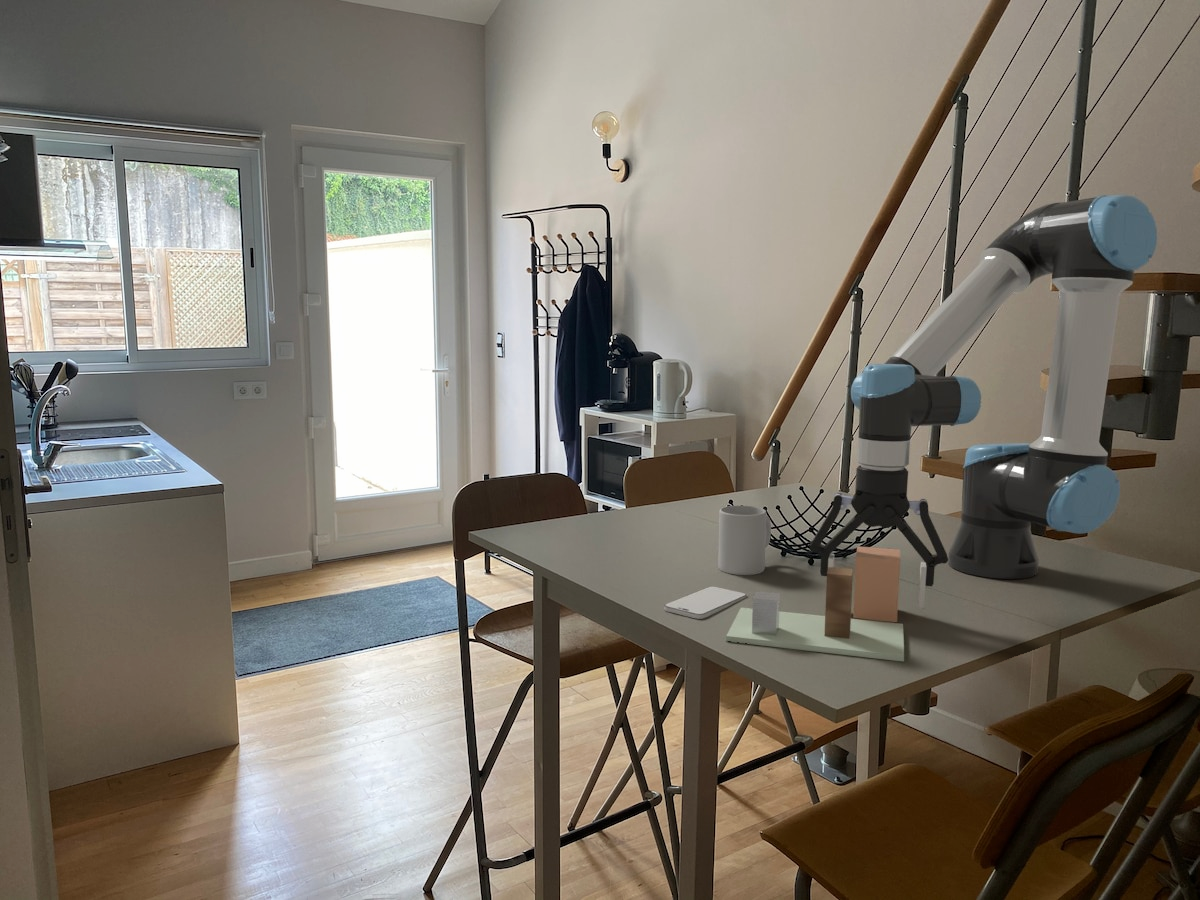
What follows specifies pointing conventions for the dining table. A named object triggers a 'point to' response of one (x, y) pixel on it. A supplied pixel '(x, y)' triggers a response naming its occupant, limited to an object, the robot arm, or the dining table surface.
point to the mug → (743, 539)
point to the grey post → (765, 613)
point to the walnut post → (838, 602)
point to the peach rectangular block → (876, 584)
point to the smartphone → (704, 602)
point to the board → (810, 632)
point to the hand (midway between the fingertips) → (874, 601)
